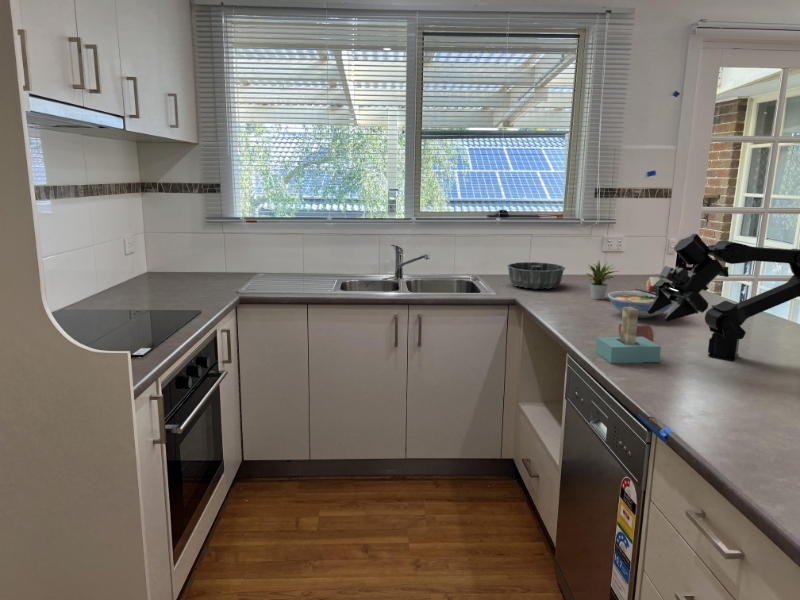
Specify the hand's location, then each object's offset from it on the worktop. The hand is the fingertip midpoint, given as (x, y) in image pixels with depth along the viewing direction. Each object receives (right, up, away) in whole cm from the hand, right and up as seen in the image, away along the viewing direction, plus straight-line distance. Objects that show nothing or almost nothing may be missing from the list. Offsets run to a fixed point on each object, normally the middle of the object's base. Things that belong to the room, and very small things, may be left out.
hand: (656, 316), depth 155 cm
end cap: (-8, -11, +2) cm, 14 cm away
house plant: (+12, +5, +81) cm, 83 cm away
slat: (-8, -11, +2) cm, 14 cm away
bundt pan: (-7, +11, +110) cm, 111 cm away
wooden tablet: (+5, -7, +25) cm, 27 cm away
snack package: (+41, +7, +91) cm, 100 cm away
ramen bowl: (+17, -1, +51) cm, 54 cm away
